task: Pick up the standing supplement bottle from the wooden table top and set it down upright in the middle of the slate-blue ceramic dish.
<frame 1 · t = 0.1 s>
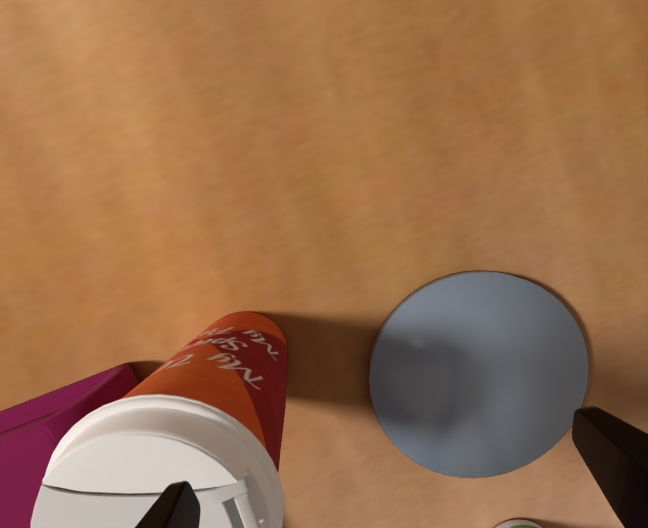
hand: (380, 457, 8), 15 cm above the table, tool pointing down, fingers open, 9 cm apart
slate dish: (472, 373, 25), on the table
paper cup: (246, 350, 25), on the table
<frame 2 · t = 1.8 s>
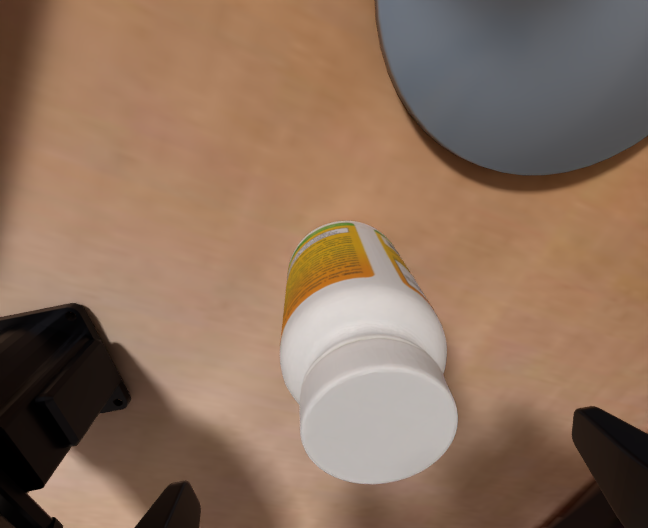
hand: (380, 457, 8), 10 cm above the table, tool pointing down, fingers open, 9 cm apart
supplement bottle: (343, 269, 18), on the table
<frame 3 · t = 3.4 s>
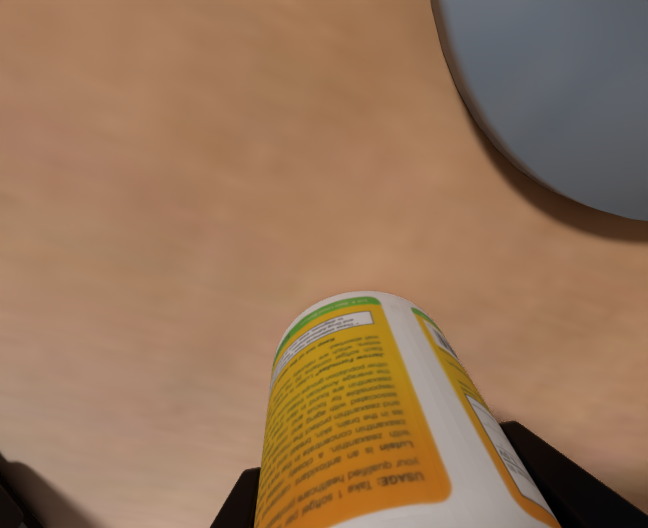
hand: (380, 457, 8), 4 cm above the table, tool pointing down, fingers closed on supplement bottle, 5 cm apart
supplement bottle: (357, 357, 12), on the table, touching gripper
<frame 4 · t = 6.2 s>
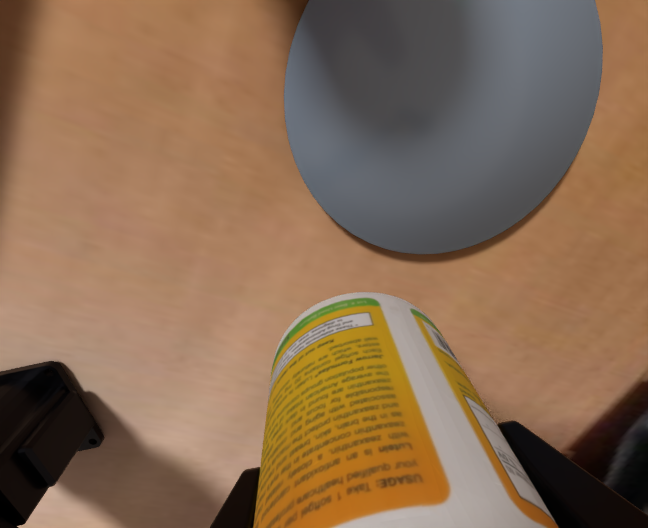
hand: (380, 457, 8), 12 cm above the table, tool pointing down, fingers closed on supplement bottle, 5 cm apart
slate dish: (436, 106, 17), on the table
supplement bottle: (357, 358, 12), point 9 cm above the table, touching gripper
when the fingers open (6 cm above the table, at t = 8.8 s): supplement bottle drops 1 cm, resting on slate dish.
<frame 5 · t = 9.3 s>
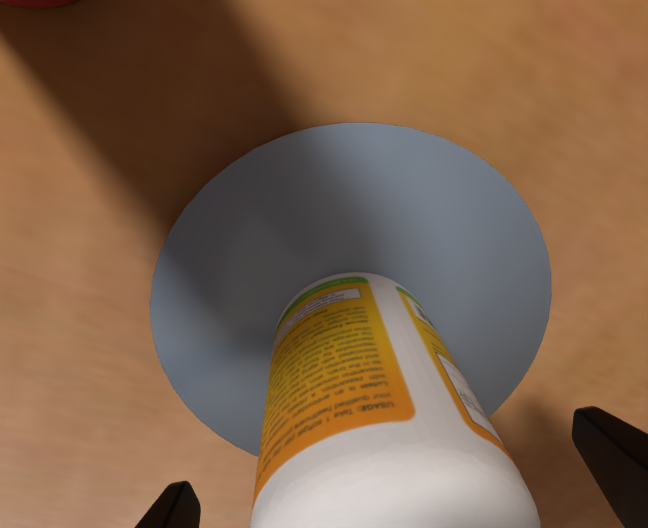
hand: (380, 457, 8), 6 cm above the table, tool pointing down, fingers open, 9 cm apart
slate dish: (351, 319, 14), on the table
supplement bottle: (349, 333, 13), point 1 cm above the table, touching slate dish
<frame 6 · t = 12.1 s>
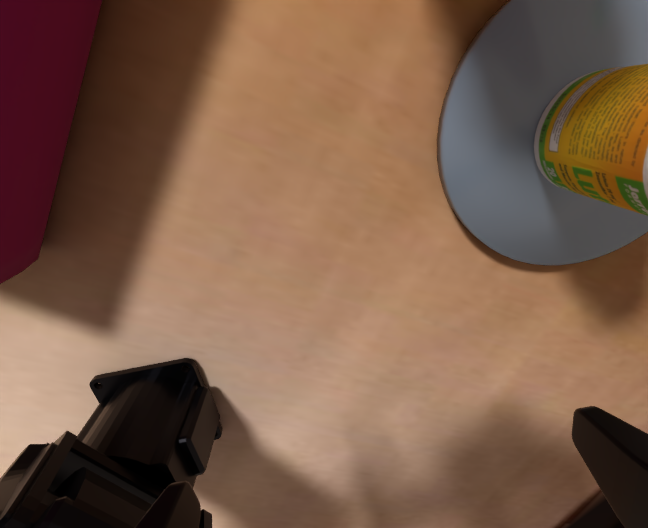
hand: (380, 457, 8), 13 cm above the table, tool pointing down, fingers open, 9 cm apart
slate dish: (574, 129, 18), on the table
supplement bottle: (583, 132, 18), point 1 cm above the table, touching slate dish
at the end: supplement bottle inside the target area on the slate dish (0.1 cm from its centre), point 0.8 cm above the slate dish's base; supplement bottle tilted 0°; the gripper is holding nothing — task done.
